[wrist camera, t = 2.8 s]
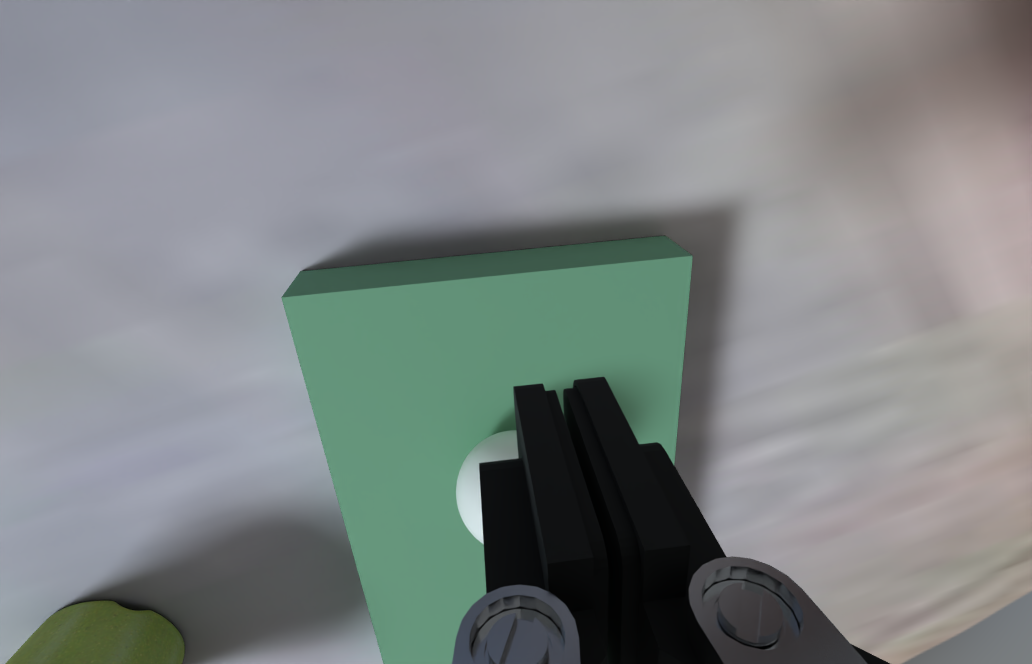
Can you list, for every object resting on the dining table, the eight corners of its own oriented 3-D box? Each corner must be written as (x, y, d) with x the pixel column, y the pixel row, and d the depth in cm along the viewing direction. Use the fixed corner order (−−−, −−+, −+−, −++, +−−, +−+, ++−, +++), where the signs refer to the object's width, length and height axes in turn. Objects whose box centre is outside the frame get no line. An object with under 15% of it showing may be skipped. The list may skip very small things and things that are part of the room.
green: (300, 271, 18) (261, 325, 14) (665, 235, 19) (721, 276, 16) (417, 729, 31) (413, 825, 27) (636, 692, 32) (663, 779, 28)
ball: (448, 414, 19) (449, 495, 15) (559, 401, 19) (586, 476, 16) (460, 500, 21) (464, 590, 17) (562, 486, 21) (587, 571, 17)
